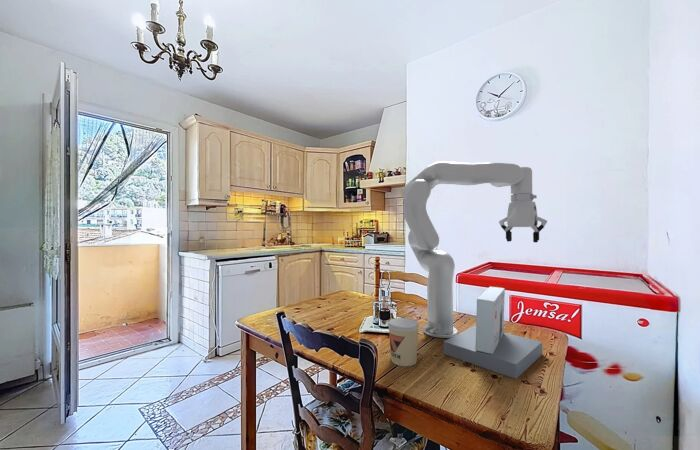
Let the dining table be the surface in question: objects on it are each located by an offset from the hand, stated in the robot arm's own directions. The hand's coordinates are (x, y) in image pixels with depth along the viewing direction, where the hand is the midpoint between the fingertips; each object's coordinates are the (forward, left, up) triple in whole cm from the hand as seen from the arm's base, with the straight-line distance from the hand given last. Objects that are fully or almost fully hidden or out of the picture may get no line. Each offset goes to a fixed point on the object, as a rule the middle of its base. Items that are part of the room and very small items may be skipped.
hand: (522, 241), depth 121 cm
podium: (-33, -2, -34) cm, 48 cm away
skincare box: (-33, -2, -31) cm, 45 cm away
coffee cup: (-57, +15, -35) cm, 68 cm away
